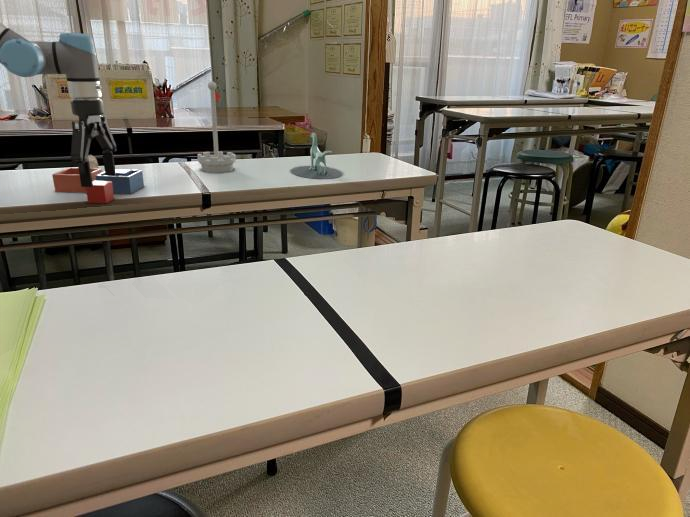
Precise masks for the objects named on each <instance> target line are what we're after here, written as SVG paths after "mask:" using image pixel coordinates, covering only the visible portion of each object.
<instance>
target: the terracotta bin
mask: <svg viewBox="0 0 690 517" xmlns="http://www.w3.org/2000/svg"><path fill="white" fill-rule="evenodd" d="M90 170H91V176H92V181H96V175H98V174H101V173H102V171H103V170H102V168H99V169H92V168H90ZM51 176H52V182H53V186H54V192H56V193H80V194H81V193H82V194H83V193H84V194H87V193H86V187H81V181H80V175H79V170H78V167H68V168H66V169H62V170H59V171H57V172H54V173H52V175H51Z"/></svg>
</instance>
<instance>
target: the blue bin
mask: <svg viewBox="0 0 690 517" xmlns="http://www.w3.org/2000/svg"><path fill="white" fill-rule="evenodd" d="M121 169H122V168H121ZM122 170H124V169H122ZM131 170H132V175H130V176H108V175H105V171H104V172H103V173H101V174H98V175H96V181H112V186H113V193H114V195H115V194H117V195H132V194H134V193H136V192H138V191H139V190H141V189H142V188H144V187H145V183H144V174H143V169H131Z"/></svg>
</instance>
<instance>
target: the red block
mask: <svg viewBox="0 0 690 517" xmlns="http://www.w3.org/2000/svg"><path fill="white" fill-rule="evenodd" d="M92 182H93V187H86V193H85V194H86V199H87V203H88V204H108V203H110V202H111V201H113V200H115V194H114V193H113V186H112V181H92Z"/></svg>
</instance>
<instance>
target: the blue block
mask: <svg viewBox="0 0 690 517" xmlns="http://www.w3.org/2000/svg"><path fill="white" fill-rule="evenodd" d="M115 170H116V175H115V176H130V175H132V170H133V169H123V170H122V168H121V169H118V168H115Z"/></svg>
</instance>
